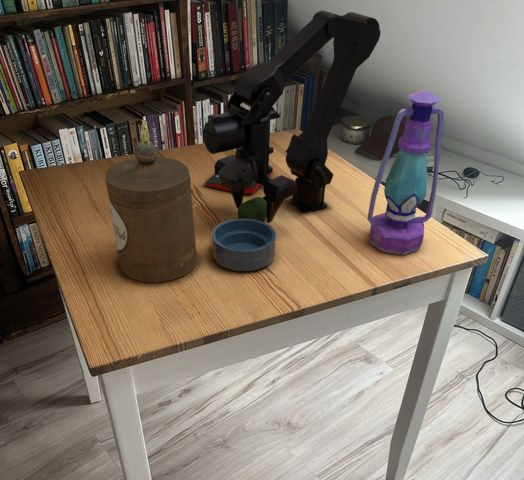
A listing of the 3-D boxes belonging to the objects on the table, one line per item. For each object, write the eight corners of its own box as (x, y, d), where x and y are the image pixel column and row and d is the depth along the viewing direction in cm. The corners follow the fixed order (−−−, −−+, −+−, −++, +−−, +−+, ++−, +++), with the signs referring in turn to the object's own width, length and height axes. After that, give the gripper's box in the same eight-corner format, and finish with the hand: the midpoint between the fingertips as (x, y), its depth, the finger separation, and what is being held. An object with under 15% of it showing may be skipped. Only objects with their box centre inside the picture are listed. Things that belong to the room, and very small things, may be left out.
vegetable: (158, 220, 122) (148, 126, 109) (139, 217, 123) (127, 124, 109) (165, 210, 125) (156, 119, 112) (146, 208, 126) (135, 117, 113)
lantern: (414, 226, 123) (447, 80, 103) (435, 254, 114) (475, 100, 94) (355, 230, 121) (378, 81, 101) (372, 259, 112) (401, 103, 92)
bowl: (257, 235, 118) (258, 213, 115) (285, 264, 110) (287, 242, 107) (202, 248, 114) (201, 226, 111) (227, 279, 106) (227, 256, 102)
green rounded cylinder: (258, 211, 126) (258, 190, 123) (274, 219, 124) (275, 198, 120) (232, 223, 122) (232, 202, 118) (248, 232, 119) (249, 210, 116)
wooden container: (128, 240, 115) (112, 132, 101) (200, 243, 115) (194, 135, 101) (111, 281, 104) (90, 167, 90) (191, 285, 104) (183, 170, 89)
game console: (229, 164, 145) (228, 156, 143) (275, 173, 141) (275, 165, 140) (203, 186, 135) (203, 177, 133) (252, 197, 131) (252, 188, 130)
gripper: (193, 140, 112) (197, 212, 122) (261, 169, 102) (259, 244, 112) (233, 126, 118) (233, 196, 128) (300, 152, 108) (295, 225, 119)
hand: (253, 214), depth 122 cm, fingers open, 9 cm apart
